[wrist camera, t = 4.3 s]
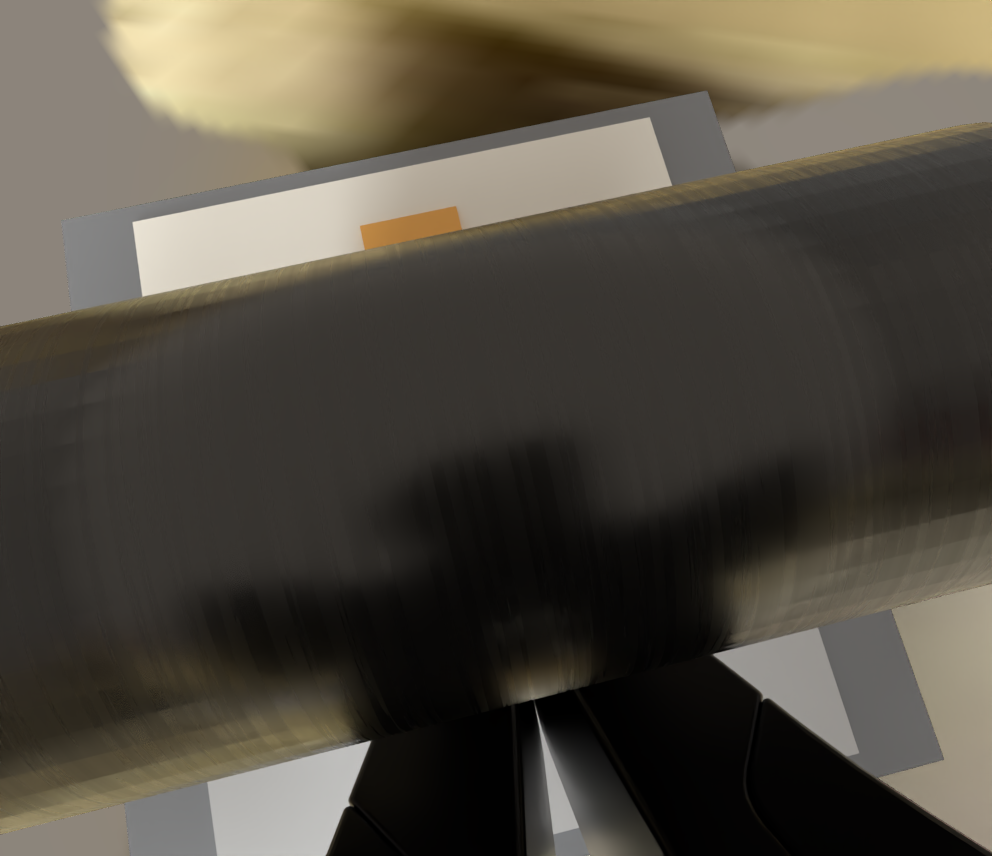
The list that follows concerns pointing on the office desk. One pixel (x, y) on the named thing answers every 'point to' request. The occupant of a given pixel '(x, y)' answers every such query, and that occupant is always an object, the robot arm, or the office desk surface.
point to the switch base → (418, 214)
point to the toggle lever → (488, 467)
